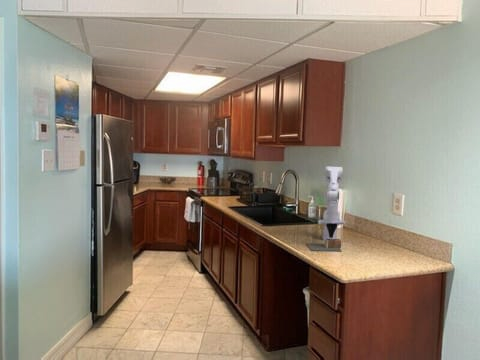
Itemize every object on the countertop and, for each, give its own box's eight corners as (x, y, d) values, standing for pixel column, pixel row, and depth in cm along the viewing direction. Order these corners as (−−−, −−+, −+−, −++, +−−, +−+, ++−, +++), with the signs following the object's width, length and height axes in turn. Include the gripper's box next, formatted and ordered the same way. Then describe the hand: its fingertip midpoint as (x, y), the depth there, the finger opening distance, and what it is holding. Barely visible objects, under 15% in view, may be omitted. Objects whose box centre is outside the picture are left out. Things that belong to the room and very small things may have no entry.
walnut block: (338, 246, 208) (324, 245, 207) (339, 239, 207) (324, 238, 207) (340, 248, 204) (326, 247, 203) (341, 240, 203) (326, 240, 203)
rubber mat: (305, 244, 212) (305, 243, 212) (334, 244, 213) (334, 243, 213) (311, 251, 198) (311, 249, 198) (341, 251, 199) (341, 250, 199)
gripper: (320, 213, 200) (319, 238, 201) (347, 214, 200) (346, 239, 201) (317, 211, 207) (316, 235, 208) (343, 212, 207) (342, 236, 208)
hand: (330, 237), depth 205 cm, fingers closed
